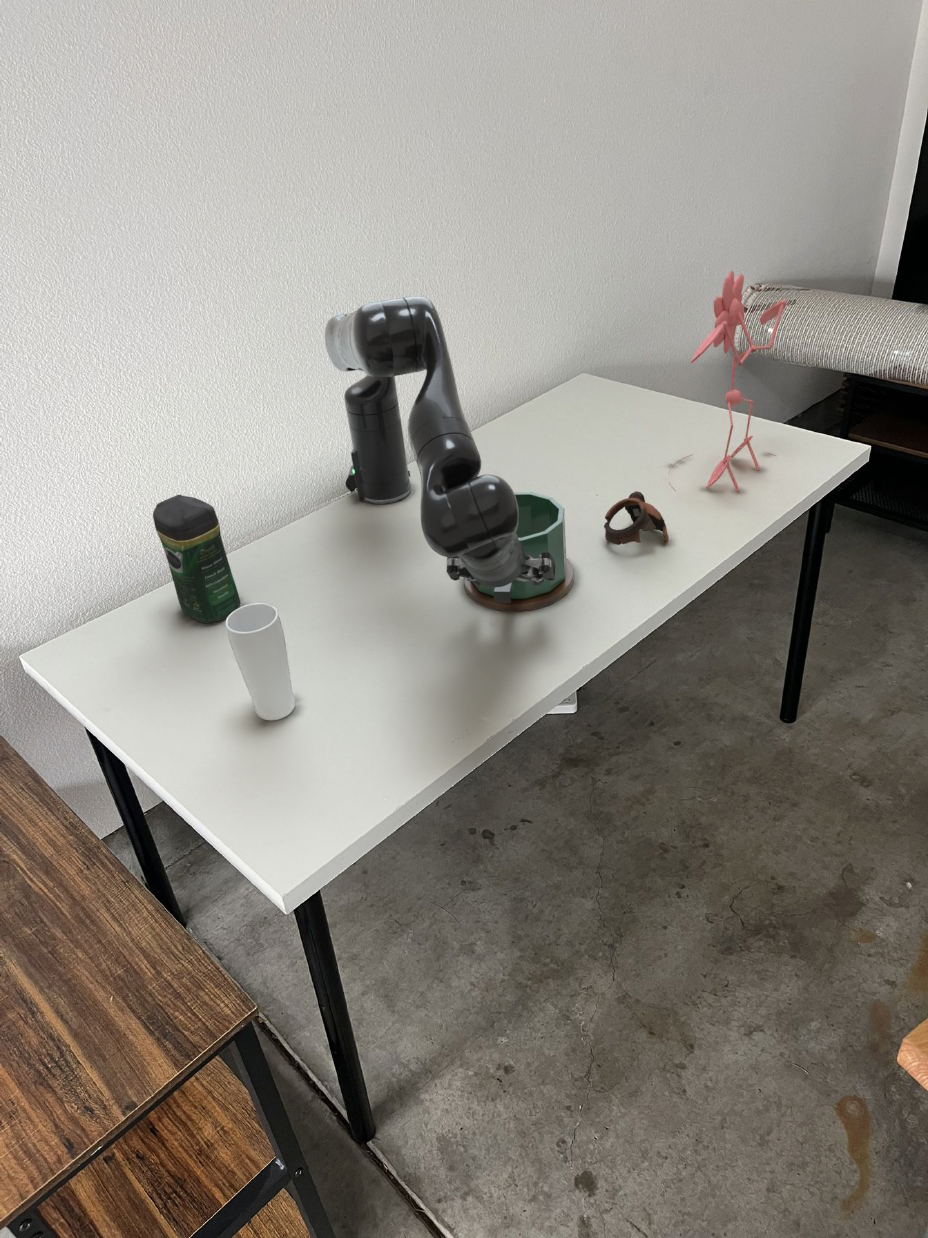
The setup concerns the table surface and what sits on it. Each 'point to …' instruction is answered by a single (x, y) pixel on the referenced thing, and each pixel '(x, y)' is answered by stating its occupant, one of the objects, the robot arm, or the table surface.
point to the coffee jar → (196, 558)
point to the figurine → (728, 317)
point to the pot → (536, 545)
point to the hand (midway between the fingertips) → (507, 578)
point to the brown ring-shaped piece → (634, 520)
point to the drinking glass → (262, 658)
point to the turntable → (523, 604)
